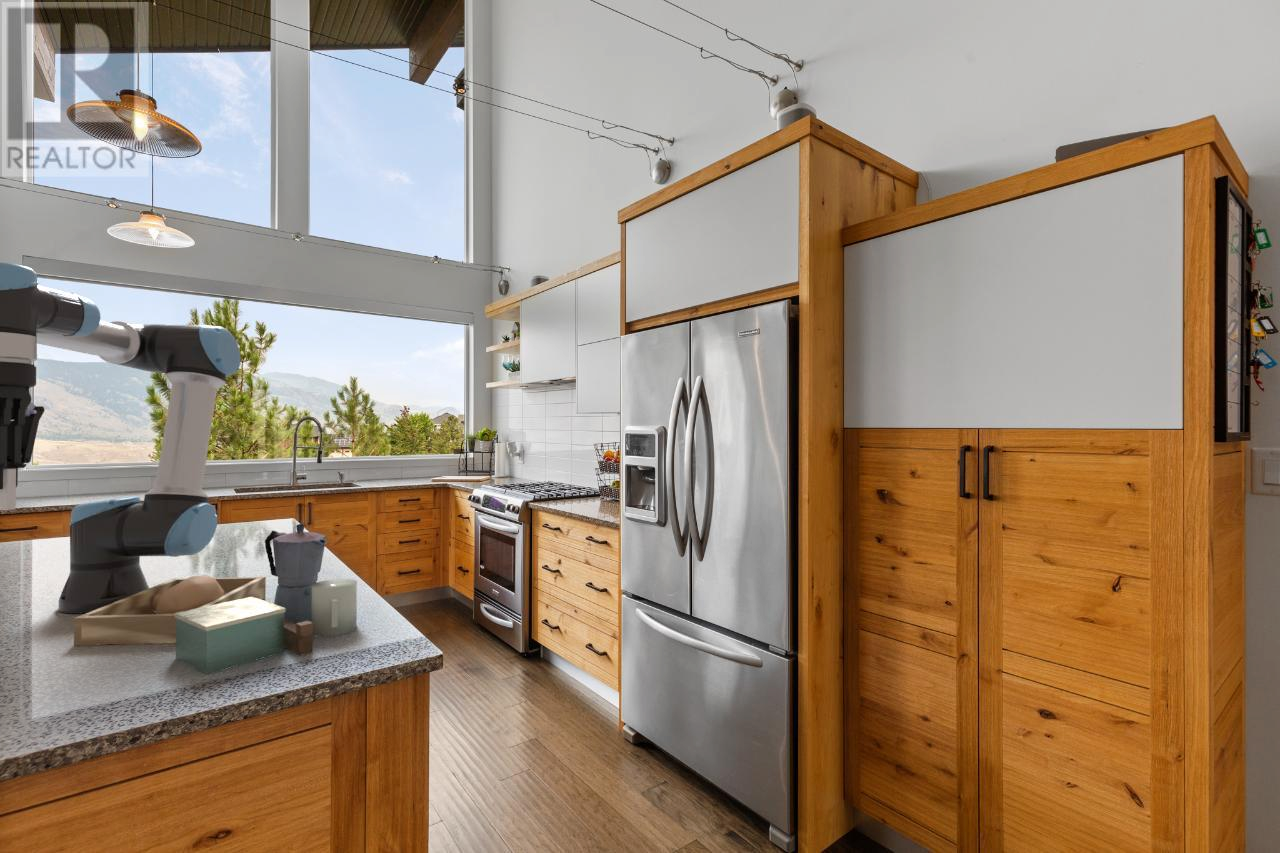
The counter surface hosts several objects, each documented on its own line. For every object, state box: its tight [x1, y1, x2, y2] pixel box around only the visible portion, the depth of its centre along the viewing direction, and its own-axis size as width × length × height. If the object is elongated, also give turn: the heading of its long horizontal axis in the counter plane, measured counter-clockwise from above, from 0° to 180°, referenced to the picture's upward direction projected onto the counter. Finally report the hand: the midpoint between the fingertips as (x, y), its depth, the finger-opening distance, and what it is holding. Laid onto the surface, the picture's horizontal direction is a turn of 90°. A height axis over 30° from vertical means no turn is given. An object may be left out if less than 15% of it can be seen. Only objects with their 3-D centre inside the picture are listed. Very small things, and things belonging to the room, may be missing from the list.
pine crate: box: [73, 576, 267, 647], centre depth 125 cm, size 28×19×5 cm
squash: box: [151, 574, 224, 614], centre depth 125 cm, size 11×20×9 cm, turn 59°
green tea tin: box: [175, 597, 286, 675], centre depth 106 cm, size 12×12×8 cm
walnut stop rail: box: [284, 619, 314, 656], centre depth 113 cm, size 20×2×5 cm, turn 52°
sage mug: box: [311, 578, 358, 637], centre depth 119 cm, size 10×8×9 cm
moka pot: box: [264, 523, 328, 624], centre depth 125 cm, size 10×15×20 cm, turn 78°
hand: (2, 509), depth 97 cm, fingers closed
